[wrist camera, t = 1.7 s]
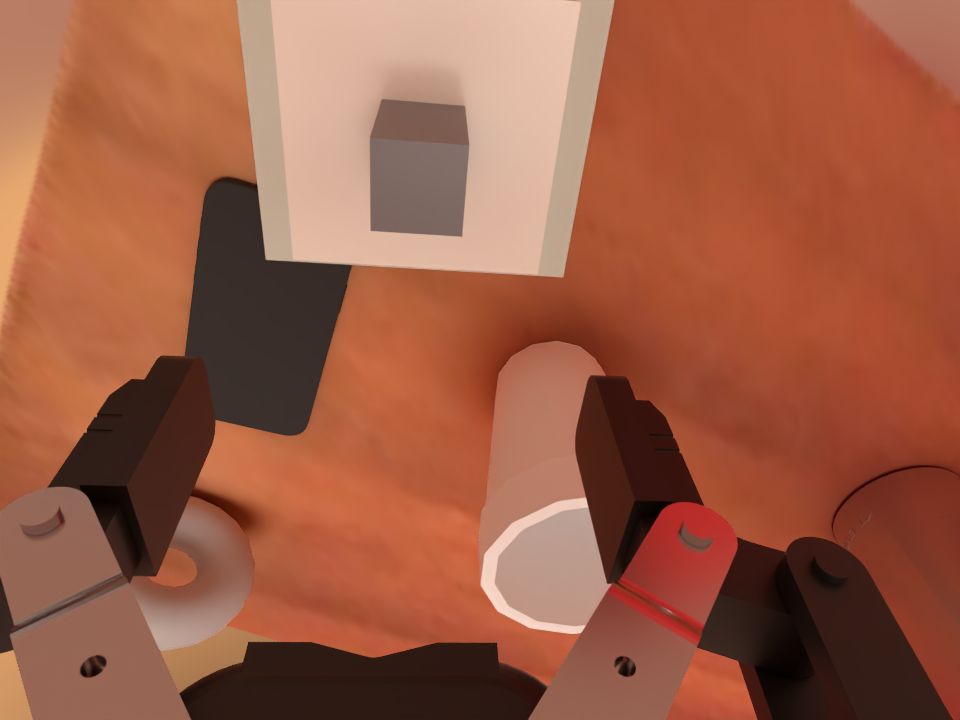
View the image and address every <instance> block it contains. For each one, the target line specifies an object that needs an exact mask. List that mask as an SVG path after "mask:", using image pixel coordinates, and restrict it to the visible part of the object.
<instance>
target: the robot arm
mask: <svg viewBox="0 0 960 720" xmlns="http://www.w3.org/2000/svg"><path fill="white" fill-rule="evenodd" d="M214 434H215V413H214V408H213V403H212V398H211V393H210V388H209V383H208V377H207V372H206V367H205V364H204V361H203V359H202V358H200V357H184V356H160V357H159V358H158V359H157V360H156V362H155V364H154V365H153V367H152V368H151V370H150V372H149V373H148V375H147V376H146V378H145V380H140V379H131V380H130V381H128V382H127V383H126V384H124V385H123V386H122V387H120V388H119V389H117V390H116V391H115V392H113V393H112V394H111V395H109V397H108V398H107V400H106V401H105V403H104V404H103V406H102V407H101V409H100V410H99V412H98V413H97V417H95V418H94V419H93V421H92V422H91V424H90V425H89V427H88V428H87V433H84V434H83V436H82V437H81V438H80V440H79V441H78V443H77V444H76V446H75V447H74V449H73V450H72V452H71V453H70V455H69V456H68V458H67V459H66V461H65V462H64V464H63V465H62V467H61V468H60V470H59V471H58V473H57V474H56V476H55V477H54V479H53V480H52V482H51V483H50V485H49V486H48V487H47V488H45V489H41V490H37V491H34V492H31V493H29V494H27V495H24V496H22V497H20V498H19V499H17V500H15V501H13V502H12V503H11V504H9V505H8V506H7V507H5V508H4V509H3V510H2V511H1V512H0V653H4V652H7V651H11V650H14V652H15V656H16V660H17V663H18V667H19V670H20V674H21V678H22V681H23V685H24V689H25V692H26V696H27V699H28V703H29V706H30V710H31V713H32V717H33V720H665V719H666V717H667V715H668V712H669V710H670V708H671V705H672V703H673V701H674V698H675V696H676V694H677V692H678V689H679V687H680V685H681V682H682V680H683V678H684V675H685V673H686V671H687V668H688V666H689V664H690V661H691V659H692V657H693V655H694V652H695V650H696V648H700V649H703V650H706V651H709V652H713V653H716V654H719V655H722V656H725V657H728V658H731V659H734V660H738V662H739V665H740V668H741V671H742V674H743V677H744V680H745V683H746V686H747V689H748V692H749V695H750V698H751V701H752V704H753V707H754V710H755V713H756V716H757V719H758V720H960V477H959V476H958V475H957V474H955V473H953V472H951V471H949V470H945V469H941V468H933V467H921V468H912V469H907V470H902V471H898V472H894V473H892V474H889V475H887V476H884V477H881V478H879V479H877V480H875V481H873V482H871V483H869V484H868V485H866V486H864V487H863V488H862V489H860V490H859V491H857V492H856V493H854V494H853V495H852V496H851V497H850V498H849V499H848V500H847V501H846V502H845V503H844V504H843V506H842V507H841V508H840V510H839V511H838V513H837V515H836V517H835V519H834V523H833V533H834V537H835V539H836V540H837V542H838V544H839V545H840V546H839V545H837V544H835V543H833V542H831V541H828V540H825V539H821V538H816V537H803V538H799V539H796V540H795V541H793V542H792V543H791V544H790V545H789V547H788V548H787V550H786V552H783V551H779V550H776V549H772V548H769V547H765V546H762V545H758V544H755V543H751V542H748V541H745V540H743V539H741V538H738V537H736V534H735V532H734V530H733V528H732V527H731V525H730V524H729V523H728V522H727V521H726V520H725V519H724V518H723V517H722V516H721V515H719V514H718V513H716V512H715V511H713V510H711V509H710V508H707V507H705V506H704V505H703V502H702V500H701V498H700V495H699V493H698V491H697V488H696V486H695V484H694V482H693V479H692V477H691V475H690V472H689V470H688V468H687V466H686V463H685V461H684V459H683V456H682V454H681V453H679V450H680V449H679V447H678V445H677V443H676V440H675V438H673V433H672V431H671V429H670V427H669V424H668V422H667V420H666V417H665V416H664V415H663V414H662V413H661V412H660V411H659V410H658V409H657V408H656V407H655V406H654V405H653V404H652V403H651V402H650V401H643V400H636V399H635V397H634V394H633V391H632V389H631V386H630V384H629V381H628V379H627V378H626V377H624V376H602V375H591V376H590V377H589V379H588V381H587V385H586V389H585V393H584V398H583V402H582V406H581V410H580V415H579V419H578V423H577V428H576V434H575V453H576V459H577V463H578V467H579V471H580V475H581V479H582V483H583V487H584V491H585V496H586V500H587V504H588V508H589V512H590V516H591V520H592V524H593V528H594V533H595V537H596V541H597V545H598V549H599V553H600V557H601V561H602V565H603V570H604V574H605V578H606V582H607V584H611V586H610V587H609V589H608V590H607V592H606V593H605V595H604V597H603V598H602V600H601V602H600V603H599V605H598V607H597V608H596V610H595V611H594V613H593V615H592V616H591V618H590V620H589V621H588V623H587V624H586V626H585V628H584V629H583V631H582V633H581V634H580V636H579V637H578V639H577V641H576V642H575V644H574V646H573V647H572V649H571V651H570V652H569V654H568V655H567V657H566V659H565V660H564V662H563V664H562V665H561V667H560V668H559V670H558V672H557V673H556V675H555V677H554V678H553V680H552V681H551V683H550V685H549V686H546V685H545V684H543V683H542V682H541V681H539V680H538V679H536V678H535V677H533V676H531V675H530V674H528V673H526V672H524V671H522V670H520V669H517V668H515V667H512V666H510V665H507V664H504V663H500V662H498V650H497V643H434V644H430V645H426V646H422V647H418V648H414V649H410V650H406V651H402V652H398V653H394V654H390V655H386V656H382V657H377V658H371V657H366V656H362V655H358V654H354V653H350V652H346V651H343V650H339V649H335V648H331V647H327V646H324V645H320V644H316V643H312V642H248V646H247V650H246V654H245V658H244V661H243V662H242V663H239V664H235V665H232V666H229V667H227V668H223V669H221V670H218V671H216V672H214V673H212V674H210V675H208V676H206V677H204V678H202V679H200V680H198V681H197V682H195V683H194V684H192V685H190V686H189V687H187V688H186V689H185V690H183V691H182V692H180V693H179V692H178V690H177V688H176V686H175V683H174V681H173V679H172V677H171V675H170V673H169V670H168V668H167V666H166V664H165V662H164V659H163V657H162V655H161V653H160V650H159V648H158V646H157V644H156V642H155V639H154V637H153V635H152V633H151V631H150V628H149V626H148V624H147V622H146V620H145V617H144V615H143V613H142V611H141V609H140V606H139V604H138V602H137V600H136V598H135V595H134V593H133V591H132V589H131V587H130V582H131V580H132V578H133V576H157V573H158V571H159V569H160V566H161V564H162V562H163V559H164V557H165V554H166V552H167V550H168V547H169V545H170V543H171V540H172V538H173V536H174V533H175V531H176V528H177V526H178V524H179V521H180V519H181V517H182V514H183V512H184V510H185V507H186V505H187V502H188V500H189V498H190V495H191V493H192V491H193V488H194V486H195V484H196V481H197V479H198V476H199V474H200V472H201V469H202V467H203V465H204V462H205V460H206V458H207V455H208V453H209V450H210V448H211V446H212V443H213V439H214Z"/></svg>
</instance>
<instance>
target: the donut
mask: <svg viewBox="0 0 960 720" xmlns="http://www.w3.org/2000/svg"><path fill="white" fill-rule="evenodd" d="M168 548H173V549H177V550H179V551H182V552H184V553H186V554H187V555H188V556H189V557H190V558H192V559H193V561H194V562H195V564H196V566H197V571H198V572H197V576H196V578H195V579H194V580H193V581H192V582H191V583H189V584H187V585H184V586H179V587H170V586H163V585H160V584H158V583H156V582H153V581H152V580H150V579H149V578H148V577H147V576H133V578H132V580H131V582H130V587H131V589H132V591H133V593H134V595H135V598H136V600H137V602H138V604H139V606H140V609H141V611H142V613H143V615H144V617H145V620H146V622H147V624H148V626H149V628H150V631H151V633H152V635H153V637H154V639H155V642H156V644H157V646H158V648H159V650H161V651H166V650H171V649H176V648H182V647H186V646H192V645H196V644H197V643H199V642H201V641H203V640H205V639H207V638H209V637H211V636H213V635H215V634H216V633H219V632H220V631H221V630H222V629H223V628H224V627H225V626H226V625H227V624H228V623H229V622H230V621H231V620H232V619H233V618H234V617H235V616H236V615H237V614H238V613H239V612H240V611H241V610H242V608H243V606H244V603H245V601H246V599H247V597H248V595H249V593H250V591H251V588H252V585H253V577H254V565H255V562H254V559H253V555H252V551H251V547H250V544H249V540H248V538H247V536H246V535H245V533H244V532H243V530H242V529H241V527H240V526H239V524H238V523H237V522H236V521H235V520H234V519H233V518H232V517H230V516H229V515H228V514H227V513H226V512H224V511H223V510H222V509H221V508H220V507H217V506H215V505H213V504H211V503H209V502H207V501H205V500H202V499H200V498H197V497H192V496H190V498H189V500H188V502H187V505H186V507H185V510H184V512H183V514H182V517H181V519H180V521H179V524H178V526H177V528H176V531H175V533H174V536H173V538H172V540H171V543H170V545H169V547H168Z"/></svg>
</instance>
